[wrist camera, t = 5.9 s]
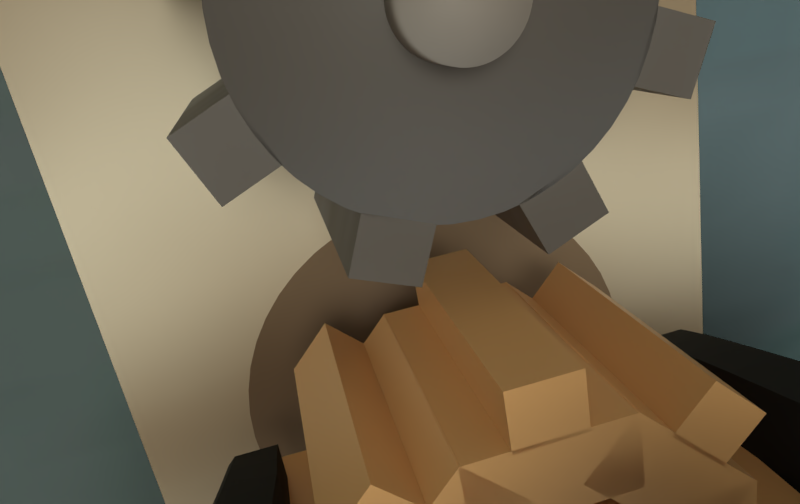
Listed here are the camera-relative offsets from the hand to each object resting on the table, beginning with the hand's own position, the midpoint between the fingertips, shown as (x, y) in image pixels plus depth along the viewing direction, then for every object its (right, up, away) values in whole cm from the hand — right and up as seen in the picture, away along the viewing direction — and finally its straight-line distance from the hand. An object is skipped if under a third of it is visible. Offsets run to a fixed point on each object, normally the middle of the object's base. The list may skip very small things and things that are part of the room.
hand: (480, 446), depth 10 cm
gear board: (-1, 0, +3) cm, 3 cm away
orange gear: (0, 0, 0) cm, 1 cm away
